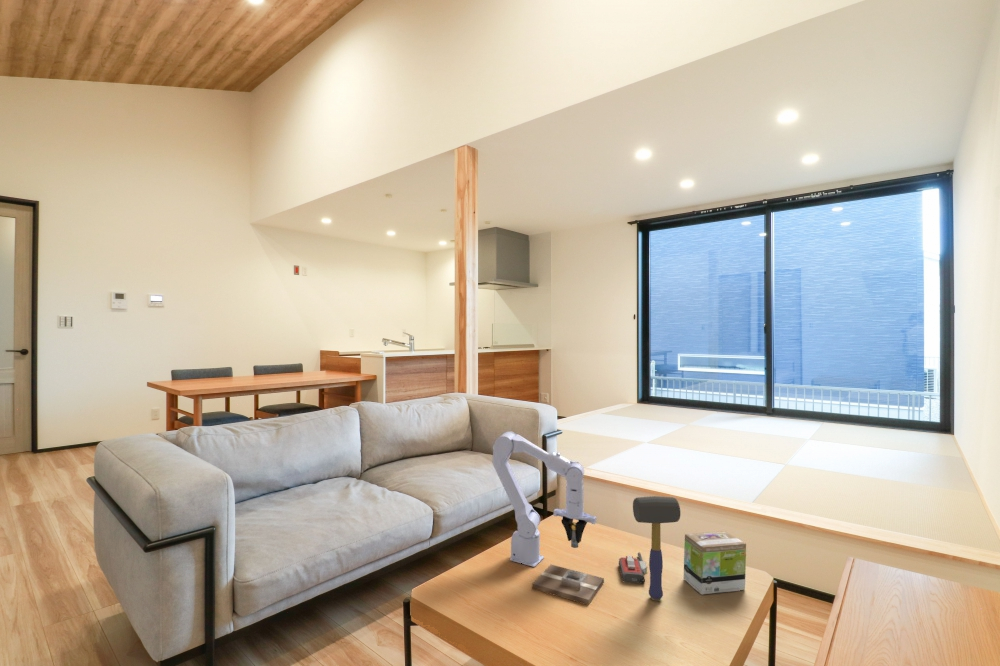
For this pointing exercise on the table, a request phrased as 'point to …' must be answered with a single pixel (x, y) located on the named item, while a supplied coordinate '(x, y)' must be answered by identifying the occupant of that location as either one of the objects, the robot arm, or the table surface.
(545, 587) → the board
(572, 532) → the gold-capped cylinder
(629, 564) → the walkie-talkie
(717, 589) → the tea box
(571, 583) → the pilot socket
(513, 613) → the table surface
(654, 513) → the rubber mallet
